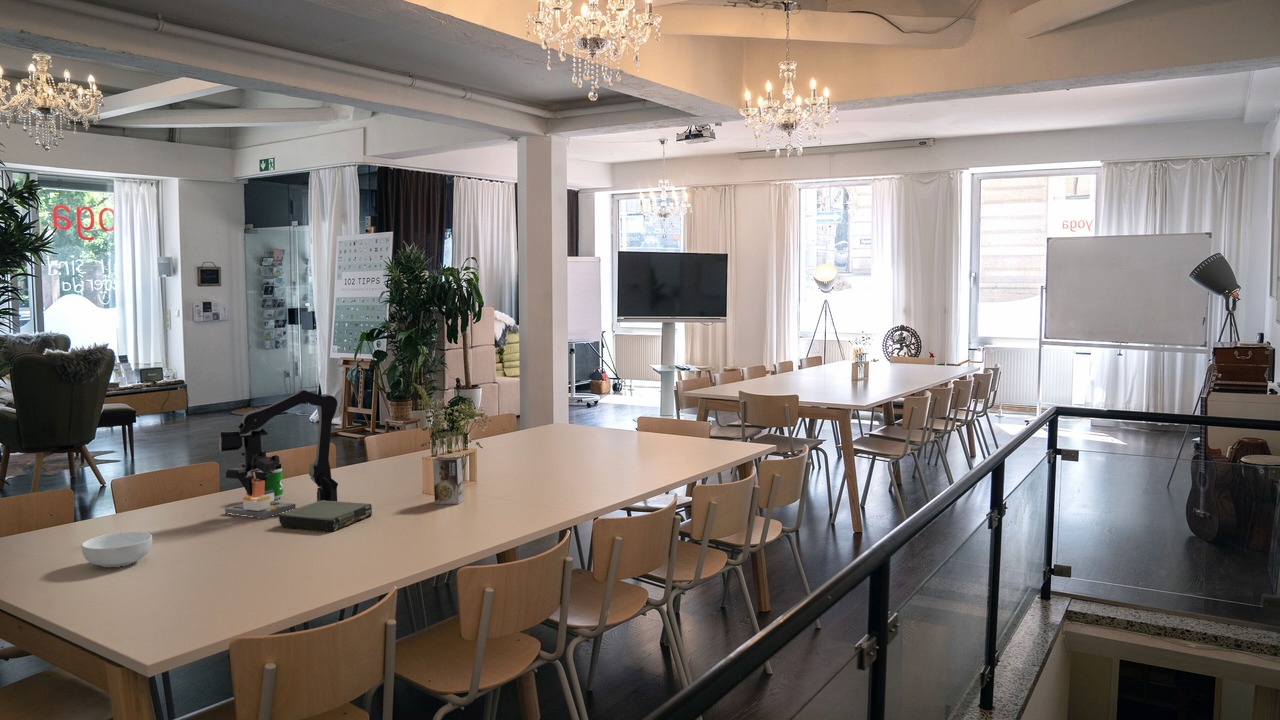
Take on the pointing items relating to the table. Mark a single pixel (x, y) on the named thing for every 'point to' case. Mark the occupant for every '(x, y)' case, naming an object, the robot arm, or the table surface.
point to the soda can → (275, 483)
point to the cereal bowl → (117, 548)
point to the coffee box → (448, 480)
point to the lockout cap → (257, 488)
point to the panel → (273, 510)
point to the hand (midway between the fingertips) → (255, 494)
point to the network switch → (325, 515)
